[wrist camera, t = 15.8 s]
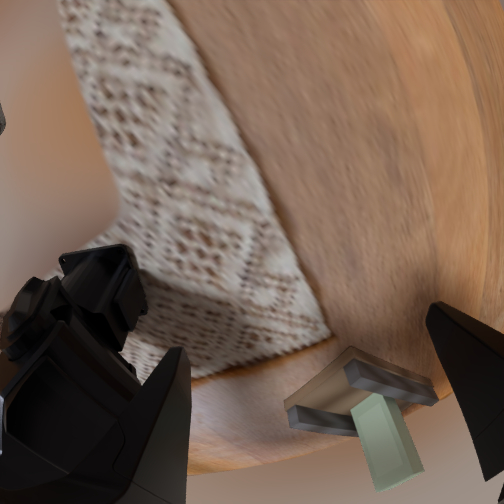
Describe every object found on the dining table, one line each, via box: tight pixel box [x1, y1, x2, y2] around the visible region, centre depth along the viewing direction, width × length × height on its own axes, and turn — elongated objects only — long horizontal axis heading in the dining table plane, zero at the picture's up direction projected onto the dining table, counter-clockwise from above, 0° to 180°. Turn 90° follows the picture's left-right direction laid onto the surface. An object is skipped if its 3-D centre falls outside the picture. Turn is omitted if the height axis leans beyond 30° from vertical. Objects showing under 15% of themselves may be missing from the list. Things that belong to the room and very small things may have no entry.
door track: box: [284, 346, 439, 437], centre depth 31 cm, size 20×11×4 cm, turn 55°
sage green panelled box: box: [350, 393, 424, 492], centre depth 26 cm, size 3×5×12 cm, turn 145°
